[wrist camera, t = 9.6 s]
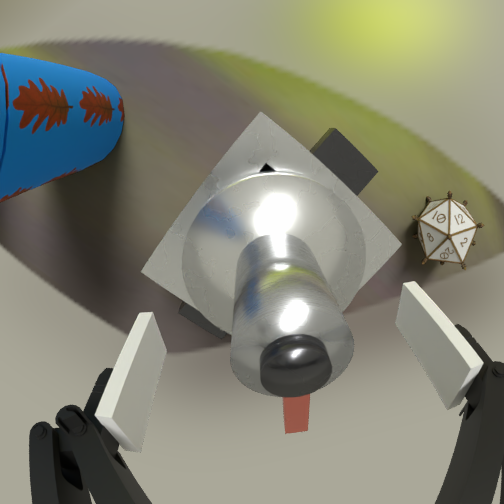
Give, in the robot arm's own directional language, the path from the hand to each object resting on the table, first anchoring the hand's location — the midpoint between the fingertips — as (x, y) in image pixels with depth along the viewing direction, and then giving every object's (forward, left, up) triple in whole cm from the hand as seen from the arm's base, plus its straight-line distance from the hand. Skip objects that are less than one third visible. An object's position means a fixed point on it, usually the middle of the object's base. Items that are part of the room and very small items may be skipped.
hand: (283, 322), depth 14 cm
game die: (+15, +13, -17) cm, 26 cm away
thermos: (-23, -3, -17) cm, 29 cm away
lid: (0, 0, -11) cm, 11 cm away
